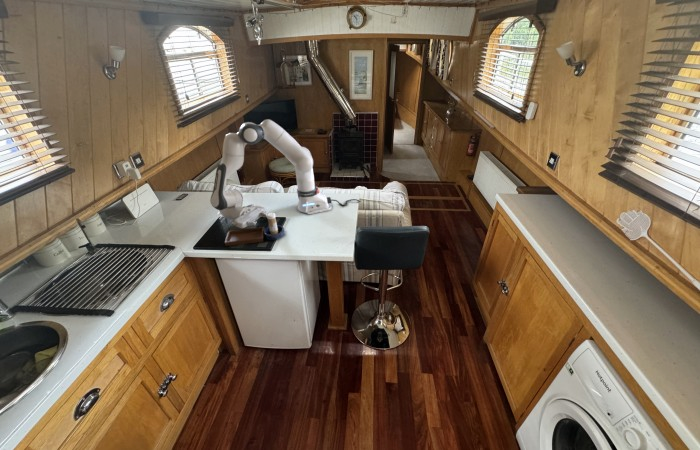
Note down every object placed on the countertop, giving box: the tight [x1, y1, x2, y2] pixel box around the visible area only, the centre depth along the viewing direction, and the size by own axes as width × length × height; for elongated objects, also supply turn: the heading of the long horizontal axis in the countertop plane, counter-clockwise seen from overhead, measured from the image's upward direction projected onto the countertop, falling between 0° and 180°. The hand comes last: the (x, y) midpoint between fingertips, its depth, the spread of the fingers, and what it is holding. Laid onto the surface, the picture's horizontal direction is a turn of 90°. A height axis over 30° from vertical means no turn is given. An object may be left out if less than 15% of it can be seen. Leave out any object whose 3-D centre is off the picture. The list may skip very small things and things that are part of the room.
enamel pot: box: [264, 224, 285, 241], centre depth 162 cm, size 11×14×3 cm
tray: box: [224, 226, 266, 247], centre depth 159 cm, size 20×12×2 cm, turn 100°
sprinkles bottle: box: [266, 212, 279, 235], centre depth 159 cm, size 5×5×13 cm
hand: (261, 219), depth 161 cm, fingers open, 8 cm apart
